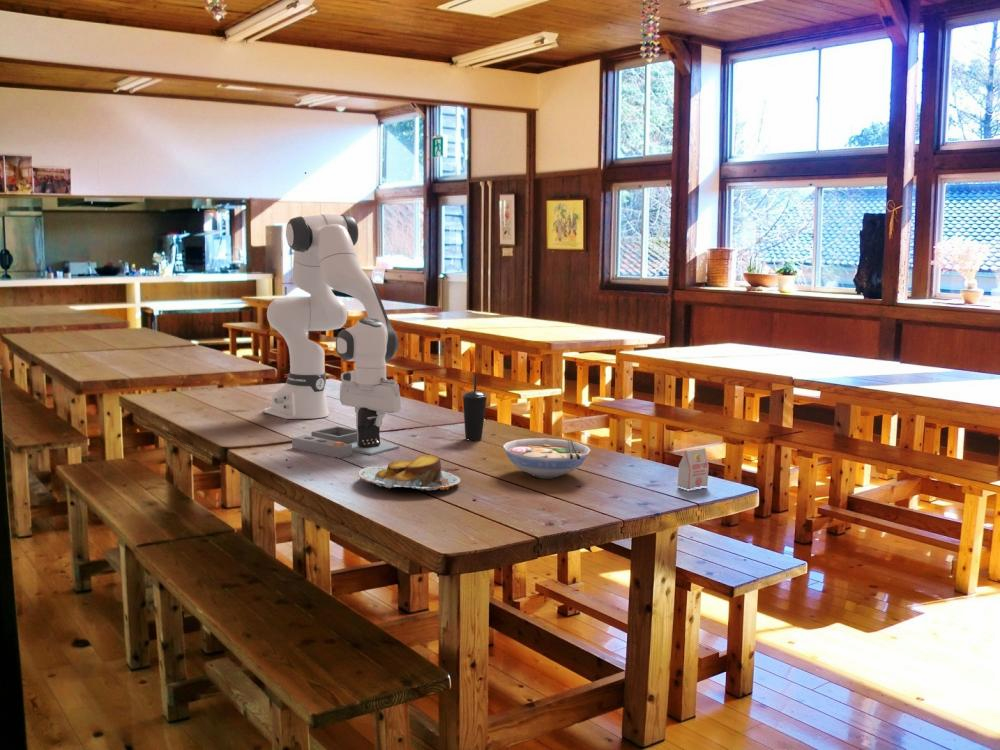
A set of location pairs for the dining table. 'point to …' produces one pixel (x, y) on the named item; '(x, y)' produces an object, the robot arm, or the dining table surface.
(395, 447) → the slate mat
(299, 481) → the dining table surface
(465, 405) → the drinking cup
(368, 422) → the battery charger
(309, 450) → the charging station
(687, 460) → the white milk carton
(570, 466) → the ramen bowl
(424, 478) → the food on plate
